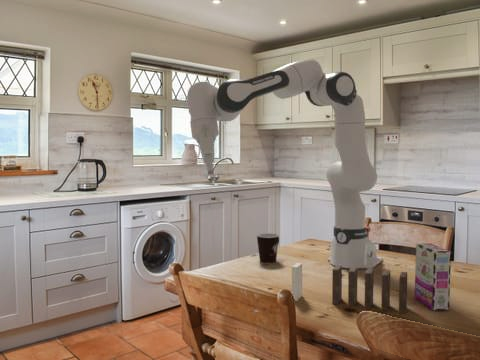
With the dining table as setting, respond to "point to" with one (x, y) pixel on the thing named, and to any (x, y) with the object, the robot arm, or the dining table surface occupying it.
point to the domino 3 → (369, 288)
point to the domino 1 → (337, 284)
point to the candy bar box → (432, 276)
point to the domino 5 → (403, 292)
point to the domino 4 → (385, 290)
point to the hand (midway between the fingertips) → (210, 172)
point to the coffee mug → (267, 247)
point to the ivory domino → (297, 281)
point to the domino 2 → (352, 286)
